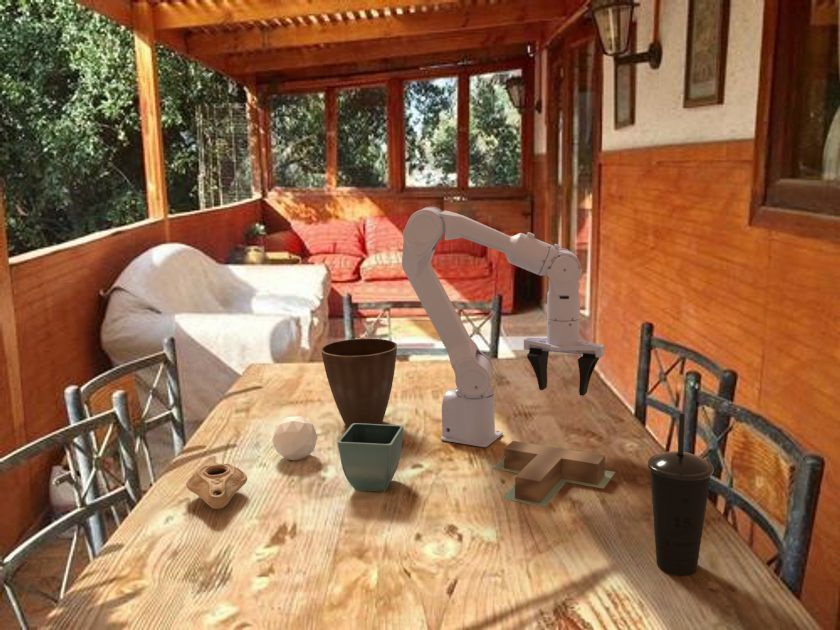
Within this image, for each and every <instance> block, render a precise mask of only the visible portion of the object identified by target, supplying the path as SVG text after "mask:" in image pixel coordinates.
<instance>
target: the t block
mask: <svg viewBox="0 0 840 630" xmlns="http://www.w3.org/2000/svg"><path fill="white" fill-rule="evenodd" d="M503 458H504V468H506V469H511V470H517V471H520V472H519V473H516V475H515V476H514V485H515V498H516V499H521V500H526V501H531V502H536V503H540V502H541V501H542V500H543V499H544V498H545V497H546V495H547V494H548V493H549V492H550V491H551V490H552V489H553V487H554V486H555V485H556V484H557V483H558V482H559V481H560V479H567V480H572V481H578V482H584V483H589V484H595V485H598V484H599V483H600V481H601V480H602V479H603V477H604V476H605V470H606V455H604V454H598V453H593V452H586V451H581V450H580V451H578V450H573V449H568V448H560V447H554V446H548V445H543V444H537V443H530V442H524V441H517V440H512V441H510V443H509V444H507V445H506V446H505V447H504V448H503Z"/></svg>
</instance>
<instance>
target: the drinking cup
mask: <svg viewBox="0 0 840 630" xmlns="http://www.w3.org/2000/svg"><path fill="white" fill-rule="evenodd" d="M685 423H686V414H684V413H679V414H678V437H677V438H678V439H677V450H676V451H667V452H662V453H661V452H660V453H657V454H654V455H652V456H651V457H649V458H648V460H647V468H648V469H649V471H650V473H649V474H650V475H649V476H650V485H651V488H650V489H651V499H652V500H651V501H652V514H653V515H652V517H653V518H652V519H653V529H654V530H653V531H654V544H655V546H654V547H655V555H656V556H655V559H656V565H657V567H658V569H660V571H663V572H664V573H667V574H668V575H673V576H681V577H682V576H689V575H692V574H695V572H696V571H697V569H698V564H699V563H698V562H699V556H700V551H701V543H702V536H703V531H704V530H703V529H704V522H705V517H706V516H705V515H706V510H707V501H708V496H709V489H710V481H711V476H712V475H713V474H714V468H715V467H714V466H713V464H712V463H711V462H710V461H709V460H707V459H706V458H703V457H701V456H698V455H696V454H693V453H691V452H690V453H689V452H687V451H684V450H685V430H686V429H685V427H686V424H685Z"/></svg>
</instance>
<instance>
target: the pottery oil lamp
mask: <svg viewBox="0 0 840 630" xmlns="http://www.w3.org/2000/svg"><path fill="white" fill-rule="evenodd" d="M247 481H248V475H247V474H246V473H245V472H244V471H242V470H241V469H240V468H239V467H236V466H234V465H232V464H231V463H217V462H213V463H209V464H208V465H204V466H202V467H200V468H199V469H198V470H196V471H195V472H194V473H193V474H192V475H191V476H190V478H188V479H187V481H186V484H185V485H186V488H187V489H188V491H190V492H192V493H194V494H195V495H197V496H198V497H200V498H201V500H203V501H204V502H205V504H207V505H208V506H209V507H210V508H211V509H214V510H221V509H223V508H225V507H226V506H227V505H228V504H229V503H230V501H231V500H232V498H233V496H234V495H235V494H236V493H238V491H239V490H240V489H242V488H243V486H244V485H245V484H246V483H247Z"/></svg>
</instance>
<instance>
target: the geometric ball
mask: <svg viewBox="0 0 840 630" xmlns="http://www.w3.org/2000/svg"><path fill="white" fill-rule="evenodd" d="M318 438H319V437H318V434H317V431H316V429H315V426H314V423H311V422H310V421H309V420H308V419H306V418H304V417H303V416H286V417H285V418H284V419H283V420H281V421H280V422H279V423H278V424H276V425H275V428H274V432H273V435H272V443H273V447H274V449H275V451H276V452H277V453H278V454H279V455H280V456H282V458H285V459H287V460H288V459H290V460H289V461H300V460H303V458H304V459H305V458H307V457H308V456H309V455H310V454H312V452H315V447H316V443H317V441H318ZM299 459H300V460H299Z"/></svg>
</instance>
